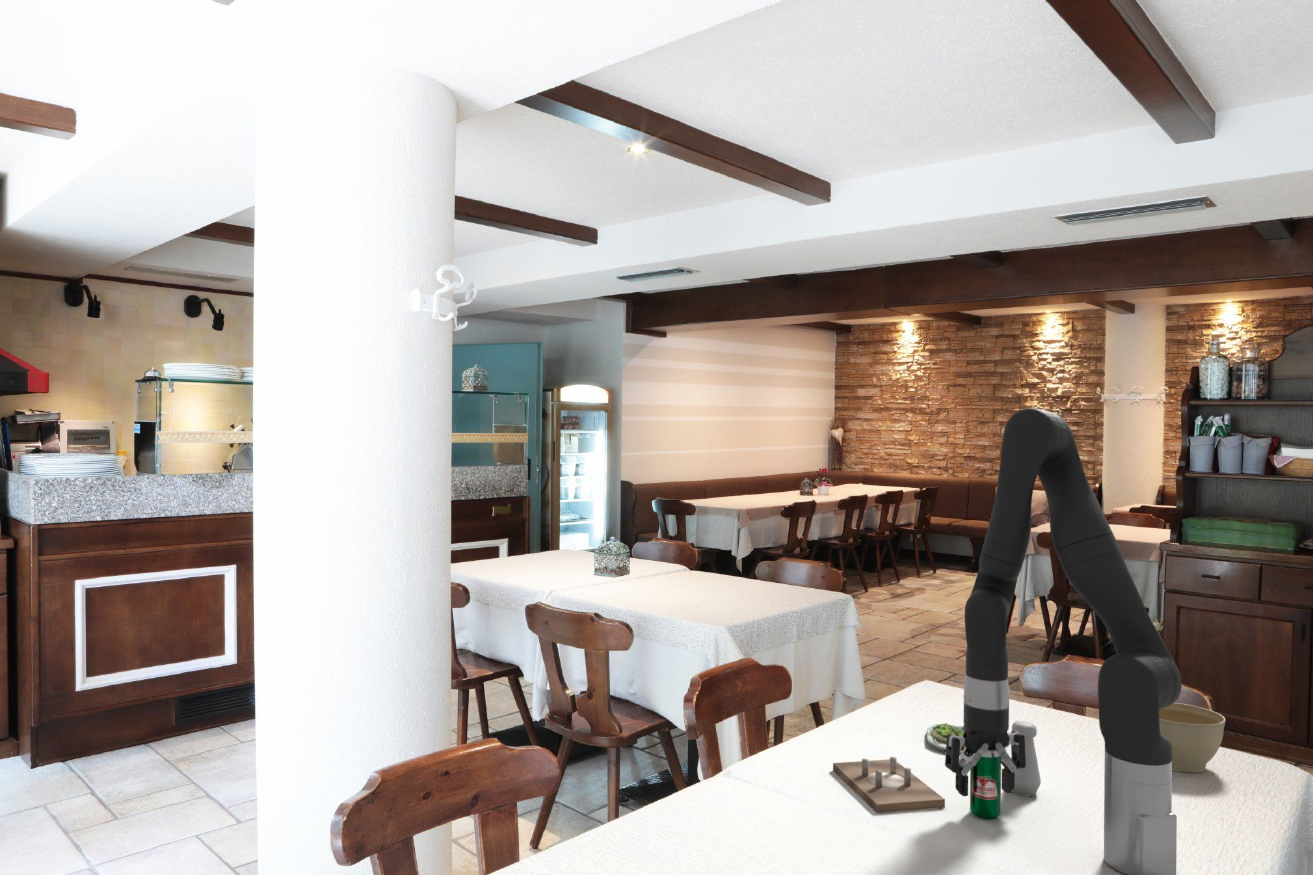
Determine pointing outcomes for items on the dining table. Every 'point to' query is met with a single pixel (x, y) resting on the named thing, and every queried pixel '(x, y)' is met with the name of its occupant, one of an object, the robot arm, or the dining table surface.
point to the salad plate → (944, 734)
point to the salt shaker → (1027, 761)
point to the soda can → (986, 786)
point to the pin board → (888, 785)
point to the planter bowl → (1191, 735)
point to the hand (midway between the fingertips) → (985, 793)
